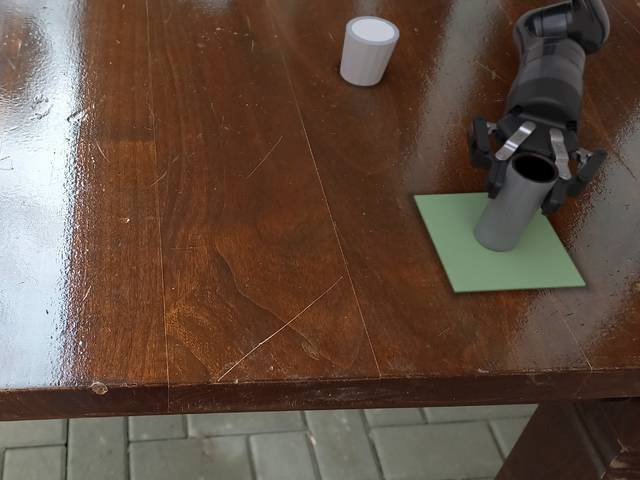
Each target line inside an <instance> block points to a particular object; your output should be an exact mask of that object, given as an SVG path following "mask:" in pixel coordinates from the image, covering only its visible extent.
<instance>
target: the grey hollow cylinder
mask: <svg viewBox="0 0 640 480" xmlns="http://www.w3.org/2000/svg"><path fill="white" fill-rule="evenodd" d="M558 177H559V170H558V167H557V166H556V164H555V163H554V162H553V161H551V160H550V159H549V158H547V157H545V156H543V155H540V154H537V153H532V152H523V153H519V154H517V155H515V156H514V157H513V158H512V160H511V161H510V163H509V165H508V167H507V169H506V174H505V178H504V182H503V185H502V188H501V190H500V191H499V193H498V195H497V197H496V199H495V200H493V199H490V200H489V202H488V204H487V206H486V207H485V209H484V211H483V213H482V215H481V217H480V219H479V220H478V222H477V224H476V226H475V229H474V235H475V238H476V239H477V241H478V242H479V243H480V244H481V245H483V246H484V247H486V248H488V249H490V250H493V251H498V252H504V251H509V250H511V249H513V248H514V247H515V245H516V244H517V242H518V241H519V239H520V238H521V236H522V234H523V233H524V231H525V230H526V228H527V227H528V225H529V223H530V222H531V220H532V219H533V217H534V215H535V214H536V212H537V211H538V209H539V207H541V206H542V205H543V202H544V199H545V198H546V196H547V195H548V193H549V192H550V190H551V188H552V187H553V185H554V184H555V182H556V180H557V179H558Z"/></svg>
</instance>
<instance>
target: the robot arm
mask: <svg viewBox="0 0 640 480" xmlns="http://www.w3.org/2000/svg"><path fill="white" fill-rule="evenodd" d="M609 18H610V17H609V15H608V12H607V10H606V8H605V6H604V3H603V1H602V0H566V1H562V2H559V3H554V4H550V5H547V6H542V7H538V8H535V9H531V10H529V11H527V12H525V13H523V14H522V15H521V16H520V17H518V19H517V20H516V21H515V23H514V25H513V28H512V37H511V39H512V40H511V41H512V46H513V49H514V53H515V56H516V57H517V60H518V66H517V67H518V68H517V71H516V75H515V78H514V80H513V82H512V83H511V85H510V89H509V91H508V94H507V95H506V99H505V106H504V110H503V114H502V116H501V119H500V120H498V121H497V123H496V122H488V121H487V118H486V117H485V116H484V115H482V114H475V115H474V116H473V119H472V121H471V123H470V125H469V128H468V130H467V132H466V133H465V136H466V142H467V149H468V158H469V165H470V166H471V167H473V168H475V169H481V168H482V169H484V170H485V171H486V176H485V180H484V183H483V187H482V188H483V193H488V197H487V198H490V199H493V200H495V199H496V197H497V195H498V193H499V191H500V190H501V188H502V185H503V182H504V178H505V174H506V169H507V167H508V165H509V163H510V161H511V160H512V158H513V157H514V156H515V155H517V154H519V153H523V152H532V153H537V154H540V155H543V156H545V157H547V158H549V159H550V160H551V161H553V162H554V163H555V164H556V166H557V167H558V170H559V177H558V179H557V180H556V182H555V184H554V185H553V187H552V188H551V190H550V192H549V193H548V195H547V196H546V198H545V199H544V201H543V203H542V208H541V209H542V212H541V215H544V216H546V218H549V217H551V215H552V214H555V215H556V214H557V213H558V212H559V211H560V210H561V208H562V206H563V205H564V204H565V202H566V197H567V195H568V197H570V198H573V199H577V198H579V197H580V196H581V194H582V193H583V192H584V190H585V189H586V188H587V186H588V185H589V183H590V182H591V180H592V179H593V177H594V176H595V175H596V173H597V172H598V170H599V169H600V167H601V166H602V164H603V163H604V162H605V160H606V158H607V157H608V156H609V154H608V152H607V151H606V150H605V149H602V148H596V149H595V150H594V152H591V151H589V150H587V149H585V148H582V147H581V142H580V140H579V139H578V137H577V136H578V131H579V125H580V118H581V114H582V113H581V112H582V107H583V100H584V91H585V89H584V78H585V73H586V66H587V56H591V55H594V54H596V53H598V52H599V51H601V50H602V48H603V47H604V46H605V45H606V43H607V41H608V39H609V36H610V32H611V24H610V19H609ZM490 137H492V138H493V139H494V140H495V142H496V143H497V144H498V146H499V147H500V149H499V150H498V151H497V152H494V151H492V150H491V149H492V147H491V141H490ZM572 159H574V160H575V162H576V167H577V169H576V172H577V173H578V174H577V175H574V174H572V173H571V171H570V167H569V161H571V160H572Z"/></svg>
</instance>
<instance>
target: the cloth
mask: <svg viewBox="0 0 640 480" xmlns="http://www.w3.org/2000/svg"><path fill="white" fill-rule="evenodd" d="M487 197H488V192H468V193H467V192H466V193H444V194H443V193H442V194H440V193H439V194H419V195H418V194H417V195H413V200H414V201H415V205H416V207H417V208H418V210H419V213H420V216H421V218H422V220H423V222H424V225H425V227H426V229H427V232H428V234H429V237H430V238H431V241H432V243H433V246H434V248H435V250H436V253H437V255H438V257H439V260H440V262H441V264H442V266H443V269H444V271H445V274H446V276H447V279H448V281H449V283H450V286H451V288H452V290H453V292H454V294H455V293H472V292H493V291H495V292H496V291H513V290H516V291H517V290H535V289H538V290H539V289H555V288H556V289H558V288H577V287H579V288H581V287H586V282H585V281H584V279H583V277H582V276H581V274H580V272H579V271H578V269H577V267H576V266H575V264H574V262H573V260H572V258H571V256H570V255H569V253H568V252H567V250H566V248H565V246H564V245H563V243H562V242H561V239H560V238H559V236H558V234H557V233H556V231H555V230H554V228H553V225H552V224H551V222H550V220H549V219H548V217H547V216H544V215H541V212H542V208H541V206H540V207H539V209H538V211H537V212H536V214H535V215H534V217H533V219H532V220H531V222H530V223H529V225H528V227H527V228H526V230H525V231H524V233H523V234H522V236H521V238H520V239H519V241H518V242H517V244H516V245H515V247H514V248H513V249H511V250H509V251H504V252H498V251H493V250H490V249H488V248H486V247H484V246H483V245H481V244H480V243H479V242H478V241H477V239H476V238H475V235H474V229H475V226H476V224H477V222H478V220H479V219H480V217H481V215H482V213H483V211H484V209H485V207H486V206H487V204H488V202H489V200H490V198H487Z"/></svg>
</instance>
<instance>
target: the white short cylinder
mask: <svg viewBox="0 0 640 480" xmlns="http://www.w3.org/2000/svg"><path fill="white" fill-rule="evenodd" d="M399 38H400V29H399V28H398V27H397V26H396V25H395V24H394V23H392V22H391V21H389V20H388V19H385V18H381V17H378V16H370V15H364V16H357V17H355V18H353V19H350V20H349V21H348V22H347V24H346V26H345V33H344V39H343V40H344V41H343V48H342V53H341V61H340V62H341V63H340V68H339V74H340V76H341V77H342V78H343V79H344V80H345V81H346V82H348V83H349V84H352V85H355V86H360V87H361V86H362V87H368V86H374V85H376V84H378V83H380V81H381V80H382V78H383V76H384V73H385V71H386V69H387V67H388V64H389V62H390V59H391V57H392V54H393V52H394V50H395V47H396V45H397V42H398V40H399Z"/></svg>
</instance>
